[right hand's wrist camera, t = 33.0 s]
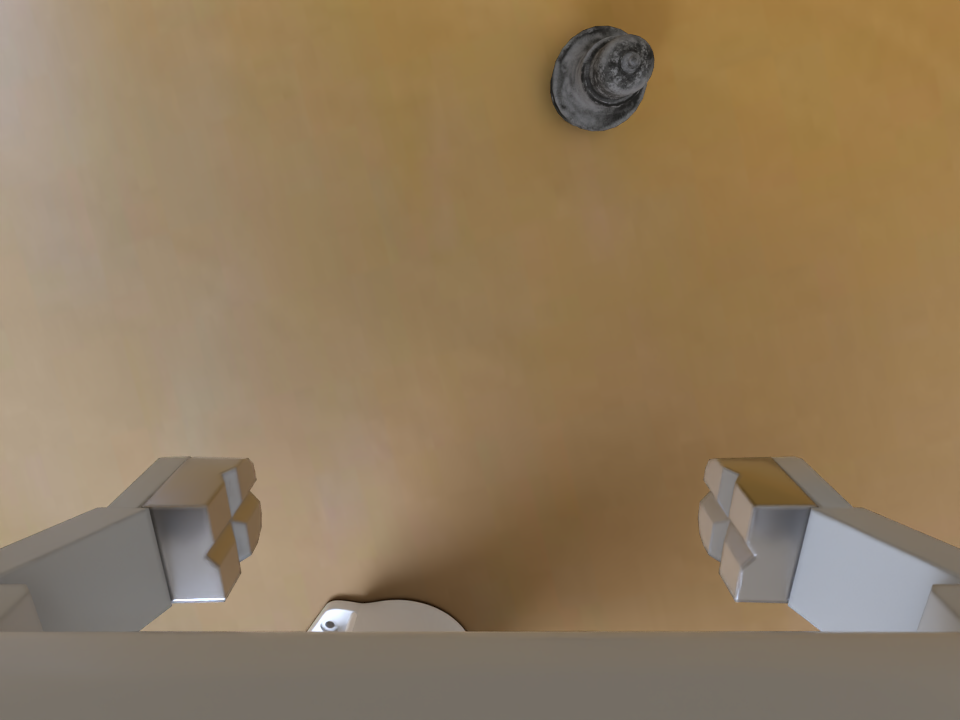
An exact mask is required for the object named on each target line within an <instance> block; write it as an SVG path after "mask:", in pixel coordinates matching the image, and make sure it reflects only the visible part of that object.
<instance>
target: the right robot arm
mask: <svg viewBox="0 0 960 720" xmlns="http://www.w3.org/2000/svg"><path fill="white" fill-rule="evenodd" d="M255 482H256V475H255V470H254V464H253V463H252V462H251V461H250V459H249V458H219V457H190V456H188V457H163V458H159V459H157V460H156V461H155V462H154V463H153V464H152V465H151V466H150V467H149V468H148V469H147V470H146V471H145V472H144V473H143V474H142V475H141V476H140V477H138V478H137V479H136V480H135V481H134V482H133V483H132V484H131V485H130V486H129V487H128V488H127V489H126V490H125V491H124V492H123V493H122V494H121V495H120V496H118V497H117V498H116V499H115V500H114V501H113V502H112V503H111V504H110V505H109V506H108V507H107V508H95V509H93V510H91V511H88V512H86V513H83V514H81V515H79V516H76V517H74V518H72V519H69V520H67V521H65V522H62V523H60V524H57V525H55V526H53V527H50V528H48V529H46V530H43V531H41V532H39V533H36V534H34V535H31V536H29V537H27V538H24V539H22V540H20V541H17V542H15V543H12V544H10V545H8V546H5V547H3V548H1V549H0V720H960V549H959V548H957V547H954V546H952V545H950V544H947V543H945V542H943V541H940V540H938V539H935V538H933V537H931V536H928V535H926V534H924V533H921V532H919V531H917V530H914V529H912V528H910V527H907V526H905V525H902V524H900V523H898V522H895V521H893V520H891V519H888V518H886V517H884V516H881V515H879V514H876V513H874V512H872V511H869V510H867V509H865V508H853V507H852V506H851V505H850V504H849V503H848V502H847V501H846V500H845V499H844V498H843V497H842V496H841V495H840V494H838V493H837V492H836V491H835V490H834V489H833V488H832V487H831V486H830V485H829V484H828V483H827V482H826V481H825V480H824V479H823V478H822V477H821V476H820V475H818V474H817V473H816V472H815V471H814V470H813V469H812V468H811V467H810V466H809V465H808V464H807V463H806V462H805V461H804V460H803V459H801V458H798V457H795V456H790V457H755V458H716V459H709V461H708V463H707V466H706V468H705V474H704V482H705V483H706V485H707V486H708V488H709V489H710V492H709V493H708V494H707V495H706V496H705V497H704V498H703V499H702V500H701V501H700V506H699V514H698V523H699V533H700V537H701V540H702V543H703V545H704V547H705V549H706V551H707V553H708V555H710V556H711V557H713V558H714V559H716V560H718V561H719V562H720V568H719V574H720V576H721V578H722V580H723V581H724V583H725V585H726V587H727V588H728V590H729V592H730V593H731V595H732V597H733V599H734V600H735V602H760V603H788V606H789V607H790V608H792V609H793V610H794V611H796V612H797V613H798V614H799V615H801V616H802V617H803V618H805V619H806V620H807V621H809V622H810V623H811V624H813V625H814V626H815V627H817V628H818V629H819V630H820V631H574V632H482V631H465V630H464V629H463V627H462V626H461V625H460V624H459V623H458V622H457V621H456V620H455V619H453V618H452V617H451V616H449V615H448V614H446V613H445V612H443V611H441V610H439V609H437V608H435V607H432V606H430V605H427V604H424V603H420V602H415V601H408V600H385V601H379V602H373V603H356V602H350V601H341V600H335V601H331V602H329V603H328V604H327V605H326V606H325V607H324V608H323V610H322V611H321V613H320V614H319V615H318V617H317V618H316V619H315V621H314V622H313V624H312V625H311V626H310V628H309V629H308V631H140V630H141V629H142V628H144V627H145V626H146V625H148V624H149V623H150V622H152V621H153V620H154V619H155V618H157V617H158V616H159V615H161V614H162V613H163V612H165V611H166V610H167V609H169V608H170V607H171V606H172V603H199V602H225V601H226V599H227V597H228V595H229V594H230V592H231V590H232V588H233V587H234V585H235V583H236V581H237V580H238V578H239V576H240V574H241V568H240V562H241V561H242V560H244V559H246V558H247V557H249V556H250V555H252V553H253V551H254V549H255V547H256V545H257V543H258V540H259V536H260V531H261V527H262V512H261V505H260V501H259V500H258V499H257V498H256V497H255V496H254V495H253V494H252V493H251V492H250V489H251V488H252V486H253V485H254V483H255ZM330 621H332V622H330Z"/></svg>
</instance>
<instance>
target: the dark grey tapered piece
mask: <svg viewBox="0 0 960 720" xmlns="http://www.w3.org/2000/svg"><path fill="white" fill-rule="evenodd" d="M653 68H654V55H653V51H652V49H651V47H650V45H649V44H648V43H647V42H646V40H644V39H643V38H641V37H639V36H636V35H632V34H627V33H626V32H624V31H623V30H621V29H618V28H614V27H611V26H595V27H592V28H589V29H586V30H583V31H582V32H580V33H579V34H577V35H576V36H574V37H573V38H571V40H570V41H569V42H568V43H567V44H566V45H565V46H564V48H563V49H562V51H561V52H560V54H559V56H558V58H557V60H556V63H555V67H554V70H553V74H552V78H551V92H550V93H551V97H552V101H553V105H554V106H555V108H556V110H557V112H558V114H559V115H560V116H561V117H562V118H563V119H564V120H565V121H567V122H568V123H570V124H572V125H573V126H577V127H579V128H581V129H585V130H589V131H604V130H608V129H611V128H614V127H616V126H618V125H620V124H621V123H623V122H624V121H626V120H627V119H628V118H629V117H630V116H631V115H632V114H633V113H634V112H635V111H636V109H637V107H638V106H639V104H640V102H641V101H642V99H643V96H644V92H645V89H646V86H647V82H648V80H649V78H650V77H651V75H652V71H653Z"/></svg>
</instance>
